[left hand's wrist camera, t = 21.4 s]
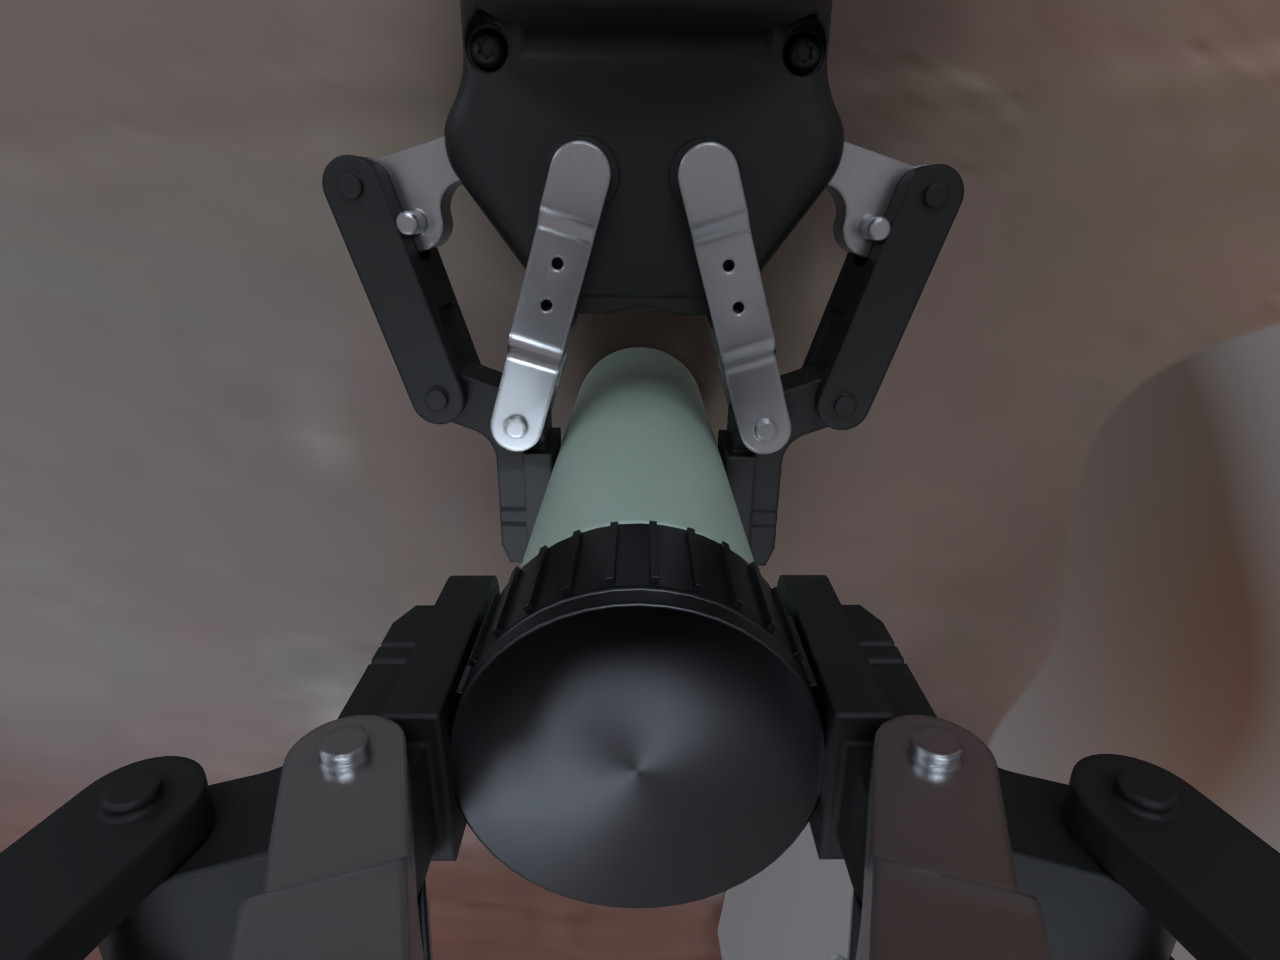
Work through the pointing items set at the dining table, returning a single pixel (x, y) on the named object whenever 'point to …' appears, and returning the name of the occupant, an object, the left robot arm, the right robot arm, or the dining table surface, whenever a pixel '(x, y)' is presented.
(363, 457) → the dining table surface
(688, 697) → the lid
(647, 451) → the pale green tube
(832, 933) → the electronic device
